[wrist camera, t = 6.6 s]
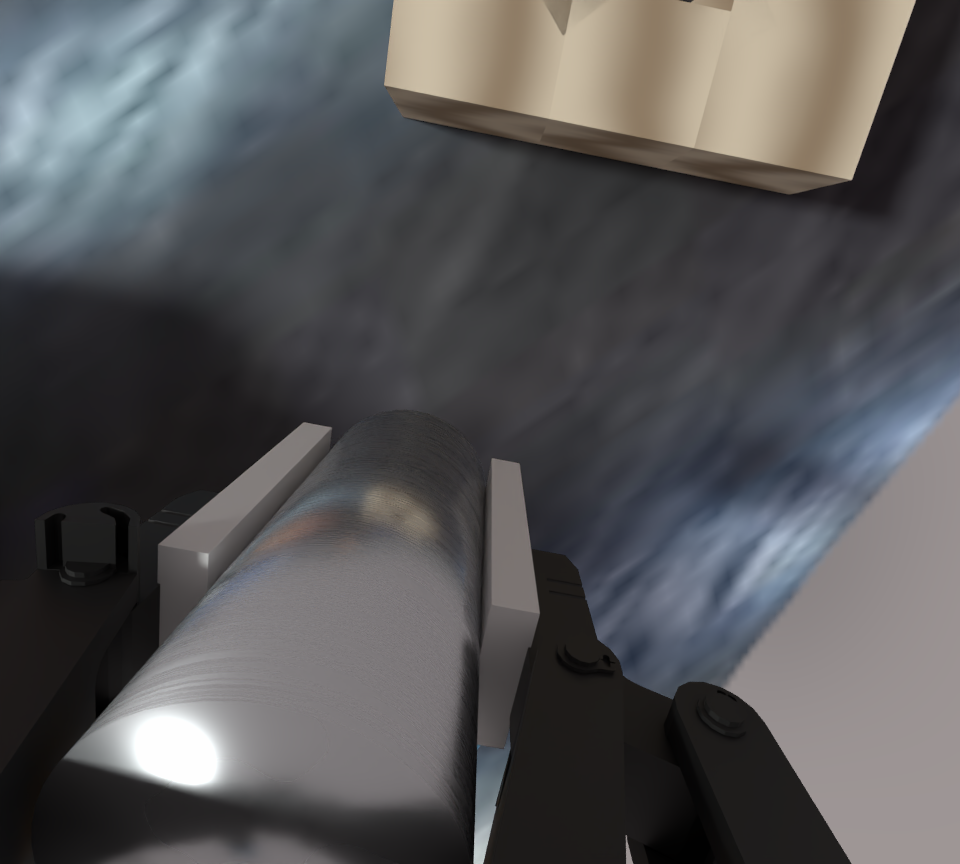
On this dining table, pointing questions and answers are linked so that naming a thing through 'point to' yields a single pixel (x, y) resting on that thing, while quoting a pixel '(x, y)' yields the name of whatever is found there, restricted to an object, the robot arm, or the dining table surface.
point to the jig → (657, 79)
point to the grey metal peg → (306, 683)
